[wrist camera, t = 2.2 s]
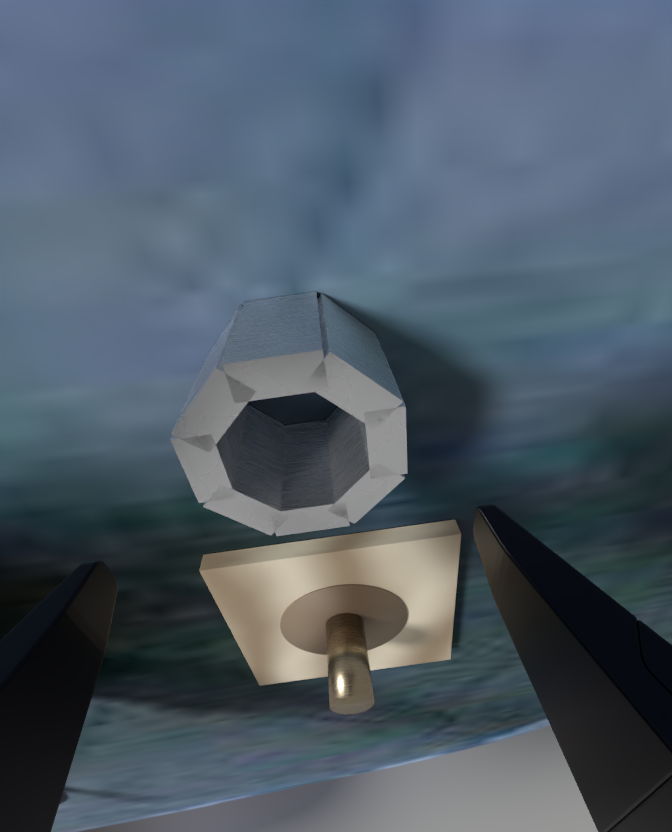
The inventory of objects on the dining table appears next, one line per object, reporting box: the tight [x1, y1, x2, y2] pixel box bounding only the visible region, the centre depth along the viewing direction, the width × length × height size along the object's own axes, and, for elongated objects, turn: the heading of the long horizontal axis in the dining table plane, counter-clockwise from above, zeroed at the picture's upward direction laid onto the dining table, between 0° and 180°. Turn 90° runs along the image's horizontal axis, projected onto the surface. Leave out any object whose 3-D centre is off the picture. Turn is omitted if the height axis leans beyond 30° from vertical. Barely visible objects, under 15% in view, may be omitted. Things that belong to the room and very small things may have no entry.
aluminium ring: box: [171, 292, 408, 536], centre depth 14 cm, size 7×7×5 cm
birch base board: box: [200, 519, 461, 686], centre depth 25 cm, size 14×14×1 cm
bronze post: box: [325, 613, 374, 714], centre depth 23 cm, size 2×2×4 cm
